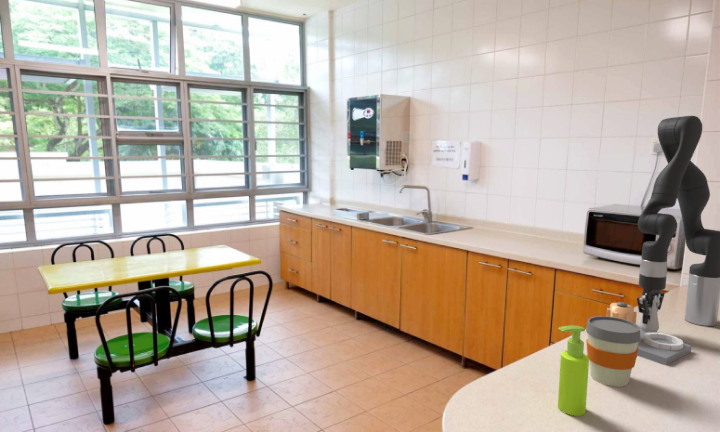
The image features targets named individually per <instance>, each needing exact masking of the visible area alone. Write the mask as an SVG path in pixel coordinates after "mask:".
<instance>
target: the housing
mask: <svg viewBox="0 0 720 432" xmlns="http://www.w3.org/2000/svg"><path fill="white" fill-rule="evenodd" d="M634 310H635V307H634V306H633V305H631V304H629V303H626V302H622V301H617V302H612V303H610V305H609V308H608V307H607V308H606V316H608V317H615V318H620V319H624V320H628V321H631V322H633V323H635V324H637V317H638V316H637V313H638V312H637V311H634ZM640 337H641V339H640V341H639V342H638V346H637V348H638V354H637V357H638V356H639V357H641V358H644V359H646V360H650V361H653V362H656V363H658V364H661V365H664V366H667V365H668V364H671V363H673V362H675V361H676V360H678V359H680V358H682V357H684V356H685V355H688V354H690V353H691V352H692V345H690V344H687V343H684V342H683V341H684V340H682V339H681V338H679V337H677V336H675V335H671V334H667V333H663V332H654V333H648V332H644V331H641V330H640Z"/></svg>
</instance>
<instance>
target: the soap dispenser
mask: <svg viewBox="0 0 720 432" xmlns="http://www.w3.org/2000/svg"><path fill="white" fill-rule="evenodd" d="M557 329H558V330H559V331H560V332H562V333H568V332H571V338H568V339H567V346H566V350H562V351H561V353H560V360H559V361H560V362H559V363H560V364H559V365H560V366H559V378H558V379H559V381H558V397H557V408H558V409H559V411H560V412H562V411H563V412H562V413H564V412H565V413H564V414H566V413H567V414H566V415H569V414H570V415H569V416H573V415H574V416H573V417H581V416H584V415H585V414H586V412H587V409H586V408H587V396H588V383H589V382H588V380H589V369H590V361H589V357H588V356H587V354H586V353H584V349H585V347H584V346H585V343H584V340H582V339H581V332H586V328H584V327H582V326H580V325H563V326H559V327H557Z"/></svg>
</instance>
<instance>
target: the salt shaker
mask: <svg viewBox="0 0 720 432" xmlns="http://www.w3.org/2000/svg"><path fill="white" fill-rule="evenodd" d="M658 300H659V299H658V297H656V300H655V304H654V308H652V311H651V316H650V321H649V319H648V323H647V324H644V323H643V322H642V321H643V319H642V318H643V313H640V314H641V315H640V317H639V321H638V323H637V325H638V326H639V327H640V330H641V331H644V332H648V333H654V332H656V333H658V331H659V329H660V324H659V317H658V315H659V314H658V312H657V307H656V303H658ZM647 305H650V304H647ZM648 310H649V308H648ZM645 322H646V321H645Z"/></svg>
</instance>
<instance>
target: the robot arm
mask: <svg viewBox="0 0 720 432" xmlns="http://www.w3.org/2000/svg"><path fill="white" fill-rule="evenodd" d="M702 133H703V123H702V121H701V119H700V117H698V116H696V115H684V116H677V117H675V116H674V117H668V118H664V119H662V120H660V122H659V123H658V126H657V138H658V141H659V144H660V147H661V149H662V152H663V155H664V157H665V160H666V162H667V165H665V166H664V168H663V169H662V170H661V171H660V172H659V174H658V175H657V176H656V179H655V181H654V183H653V187H652V188H653V189H652V192H651V195H650V199H649V200H648V202H647V203H646V206H645V207H644V209H643V210H642V212H641V214H640V215H639V218H638V221H637V227H638V230H639V231H640V232H642V233H643V234H648V235H649V234H650V235H655V236H658V238H657V240H650V241H649V240H648V241H644V242H643V244H642V250H641V261H640V264H639V273H638V286H639V287H640V288H642V289H643V290H642V292H641V297H639V296H637V298H636V301H637V309H638V313H640V314H642V313H643V318H642V319H643V321H642V322H643V323H644V324H647V323H648V319H649V321H650V316H651V311H652V308H654V304H655V300H656V297H658V299H659V300H658V303H656V307H657V313H658V312H659V311H661V308H662V304H663V301H664V297H665V292H662V291H663V290H665V289H666V285H667V276H668V253H669V247H670V245H671V242H672V240H673V237H674V236H675V233H676V230H677V228H678V222H677V218H676V217H675V216H674V215H672V214H671V213H670V214H669V213H660V211H661V210H663V209H669V208H673V207H675V206H676V203H677V201H678V206H679V210H680V214H681V219H682V225H683V226H682V227H683V232H684V234H683V235H684V241H685V244H686V247H687V249H688V250H689V252H691V253H693V254H695V255H700V256H705V258H704V261H703V262H700V263H693V264H691V265H690V266H689V272H688V282H687V293H686V303H685V310H684V311H685V312H684V313H685V314H684V320H685V321H687V322H689V323H692V324H694V325H699V326H706V327H714V326H717V324H718V318H719V317H718V316H719V309H720V230H715V229H709V228H705V227H704V226H703V221H702V213H703V211H704V209H705V208H706V206H707V205H708V202H709V200H710V197H711V193H710V186H709V183H708V179H707V177H706V175H705V174H704V172H703V171H702V170H701V168H699V167H698V166H697V164H694V162H692V158H693V156H694V154H695V151H696V150H697V146H698V145H699V143H700V140H701V136H702ZM647 304H650V305H647ZM648 308H649V310H648ZM645 321H646V322H645Z"/></svg>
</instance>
